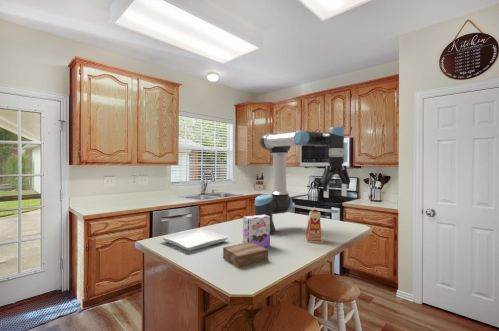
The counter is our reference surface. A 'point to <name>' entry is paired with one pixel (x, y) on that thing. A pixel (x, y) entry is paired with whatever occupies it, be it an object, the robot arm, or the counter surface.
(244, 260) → the walnut block
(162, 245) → the counter surface
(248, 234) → the candy box
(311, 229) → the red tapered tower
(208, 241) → the square plate
